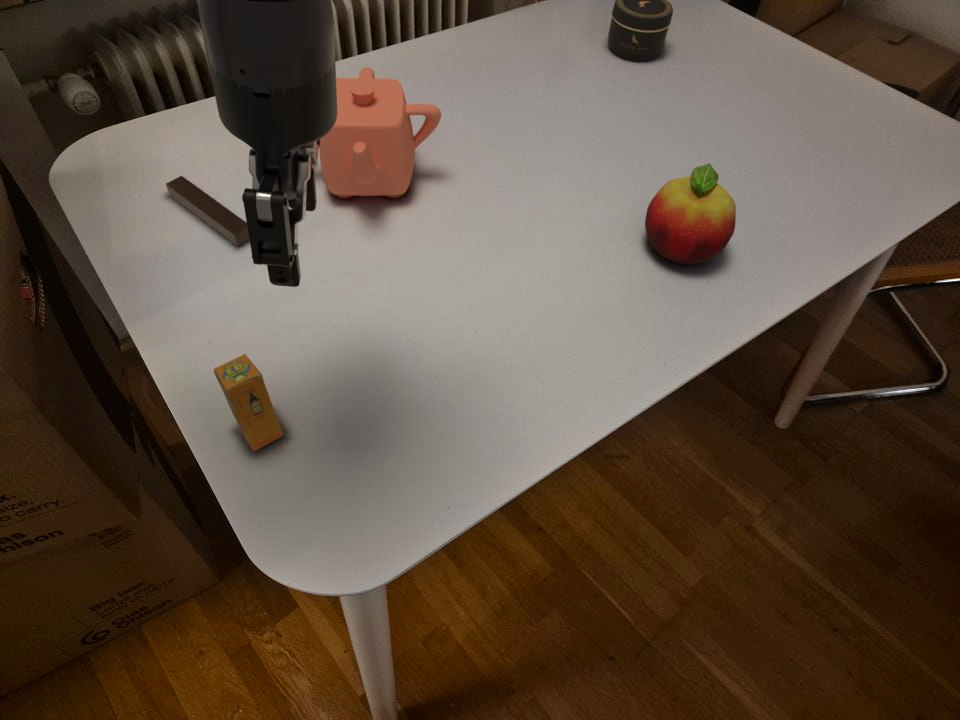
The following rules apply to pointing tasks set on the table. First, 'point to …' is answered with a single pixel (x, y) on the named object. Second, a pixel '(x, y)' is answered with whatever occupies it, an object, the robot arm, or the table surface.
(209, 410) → the table surface
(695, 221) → the fruit
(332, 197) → the table surface
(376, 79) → the teapot
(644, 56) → the jar
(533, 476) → the table surface
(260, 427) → the supplement box
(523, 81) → the table surface
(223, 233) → the walnut stick
